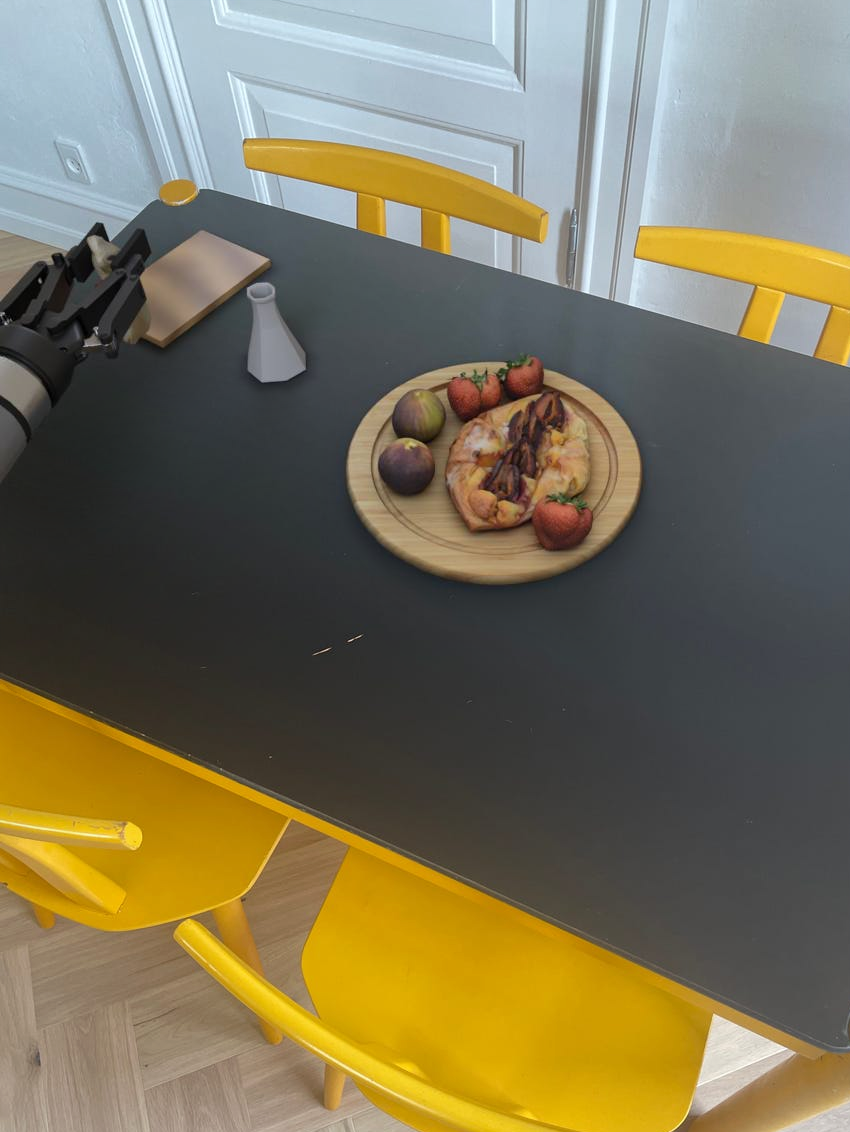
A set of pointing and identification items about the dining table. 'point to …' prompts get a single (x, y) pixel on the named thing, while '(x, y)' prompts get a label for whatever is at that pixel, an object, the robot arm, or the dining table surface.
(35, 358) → the robot arm
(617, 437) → the wooden plate
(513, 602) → the dining table surface
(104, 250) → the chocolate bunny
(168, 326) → the wooden board
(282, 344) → the flask
